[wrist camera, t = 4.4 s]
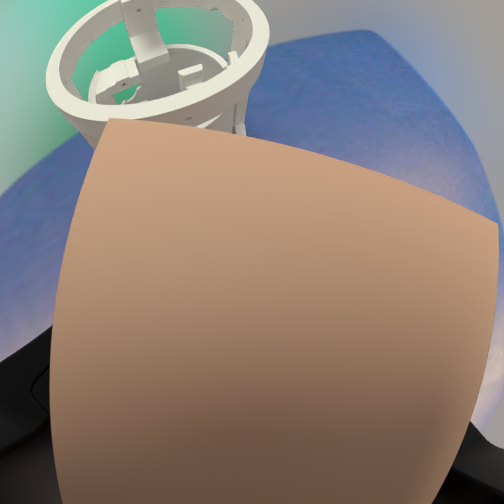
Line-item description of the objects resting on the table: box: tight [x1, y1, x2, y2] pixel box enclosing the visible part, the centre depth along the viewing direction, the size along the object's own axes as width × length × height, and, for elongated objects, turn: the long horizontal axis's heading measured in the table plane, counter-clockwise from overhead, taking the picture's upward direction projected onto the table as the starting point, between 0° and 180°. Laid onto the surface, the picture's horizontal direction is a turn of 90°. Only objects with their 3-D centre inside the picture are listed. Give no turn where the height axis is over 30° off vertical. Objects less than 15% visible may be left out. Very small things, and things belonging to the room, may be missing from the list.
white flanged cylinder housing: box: [46, 0, 269, 150], centre depth 13 cm, size 7×7×15 cm
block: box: [50, 118, 499, 504], centre depth 8 cm, size 5×5×12 cm
